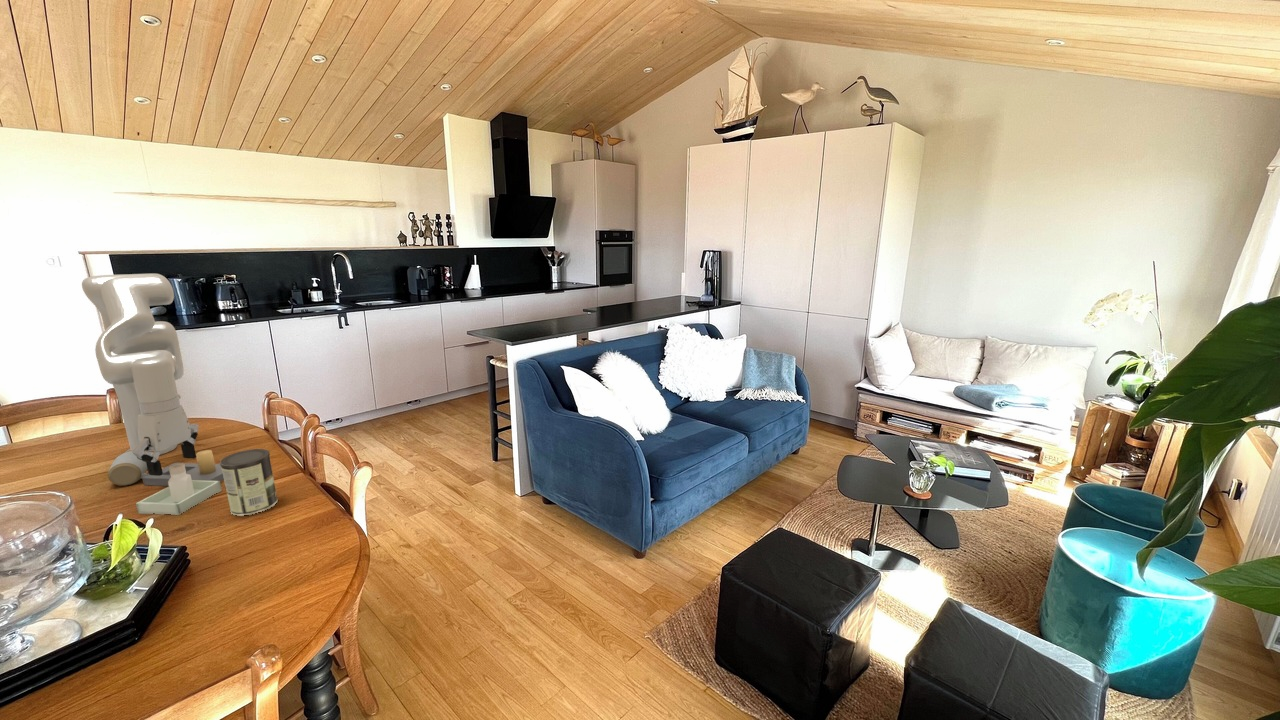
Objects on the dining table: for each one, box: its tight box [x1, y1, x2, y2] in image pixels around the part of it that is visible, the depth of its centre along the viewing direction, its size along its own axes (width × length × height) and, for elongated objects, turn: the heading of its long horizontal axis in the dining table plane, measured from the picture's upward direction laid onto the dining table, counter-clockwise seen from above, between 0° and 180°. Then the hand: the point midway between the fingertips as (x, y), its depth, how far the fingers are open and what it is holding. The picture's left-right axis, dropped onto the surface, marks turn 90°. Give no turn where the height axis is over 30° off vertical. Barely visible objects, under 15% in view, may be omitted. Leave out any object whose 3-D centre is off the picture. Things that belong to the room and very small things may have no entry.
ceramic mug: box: [107, 452, 149, 487], centre depth 150 cm, size 11×8×8 cm
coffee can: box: [219, 448, 279, 517], centre depth 135 cm, size 10×10×14 cm
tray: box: [135, 480, 223, 516], centre depth 139 cm, size 13×11×3 cm
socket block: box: [141, 449, 224, 487], centre depth 151 cm, size 10×20×8 cm, turn 87°
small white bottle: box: [168, 464, 194, 502], centre depth 138 cm, size 4×4×10 cm
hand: (173, 466), depth 137 cm, fingers open, 9 cm apart
